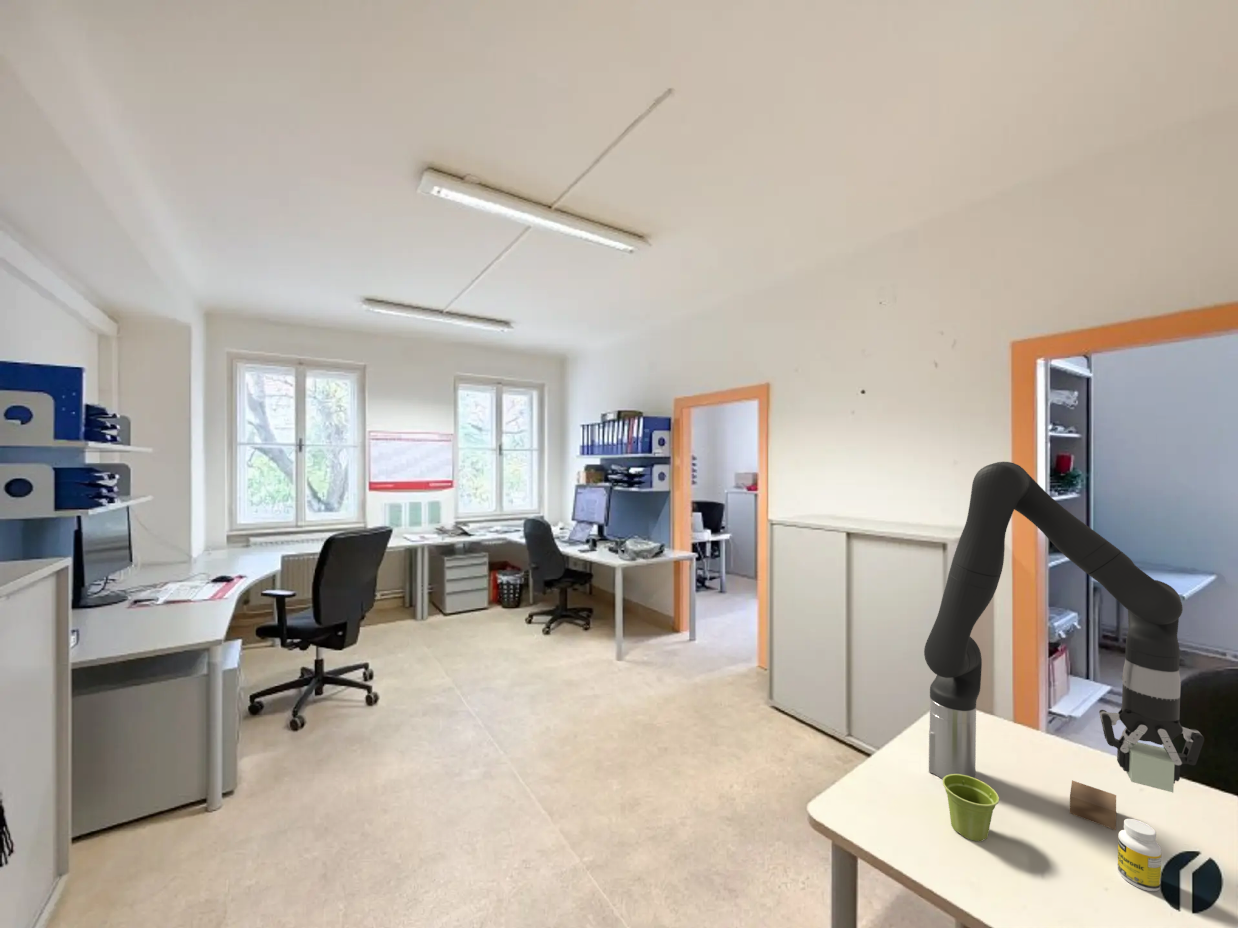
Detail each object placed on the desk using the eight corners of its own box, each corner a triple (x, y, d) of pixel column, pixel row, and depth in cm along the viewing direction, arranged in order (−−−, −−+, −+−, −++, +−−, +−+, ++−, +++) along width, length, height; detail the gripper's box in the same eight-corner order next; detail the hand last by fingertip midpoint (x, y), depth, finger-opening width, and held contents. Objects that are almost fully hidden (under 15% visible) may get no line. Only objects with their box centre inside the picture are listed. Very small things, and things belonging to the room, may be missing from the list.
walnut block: (1069, 814, 108) (1069, 795, 108) (1071, 797, 113) (1072, 780, 113) (1115, 831, 103) (1116, 811, 103) (1115, 813, 108) (1116, 794, 108)
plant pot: (988, 819, 106) (989, 778, 106) (1006, 853, 97) (1006, 809, 97) (936, 809, 109) (937, 769, 109) (949, 841, 100) (949, 798, 100)
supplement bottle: (1108, 868, 94) (1110, 816, 93) (1135, 866, 94) (1136, 814, 94) (1141, 893, 88) (1142, 838, 88) (1169, 891, 89) (1171, 836, 88)
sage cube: (1131, 781, 96) (1132, 753, 96) (1123, 766, 100) (1124, 738, 100) (1173, 792, 93) (1174, 762, 93) (1162, 776, 97) (1163, 747, 97)
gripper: (1103, 685, 97) (1100, 772, 98) (1215, 706, 89) (1211, 801, 90) (1094, 670, 103) (1092, 752, 104) (1198, 689, 95) (1194, 777, 96)
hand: (1147, 774), depth 97 cm, fingers closed on sage cube, 5 cm apart
